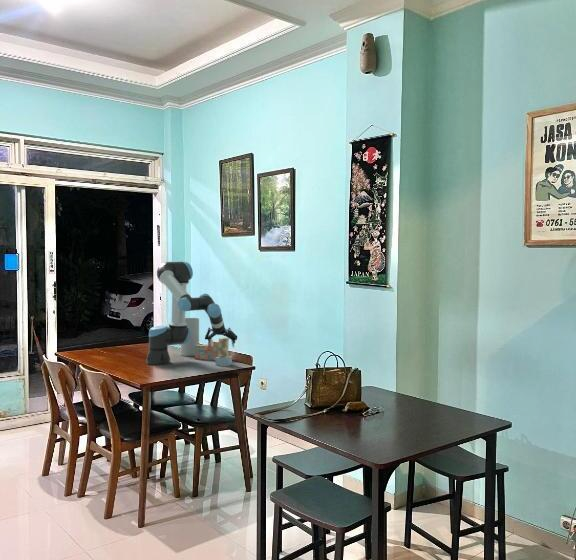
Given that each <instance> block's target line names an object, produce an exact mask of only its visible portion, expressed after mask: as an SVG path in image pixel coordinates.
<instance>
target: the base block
mask: <svg viewBox="0 0 576 560" xmlns="http://www.w3.org/2000/svg"><path fill="white" fill-rule="evenodd" d="M232 364H233V356H232V355H231V356H229V355H228V357H227V358H219V357H216V360H215V366H216V365H219V367H229V366H230V365H232Z"/></svg>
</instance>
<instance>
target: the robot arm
mask: <svg viewBox="0 0 576 560" xmlns="http://www.w3.org/2000/svg"><path fill="white" fill-rule="evenodd" d="M193 271H194V270H193V267H192V265H191V264H190V263H189V262H188V261H164V262H163V263H161V264H160V265H159V266H158V268H157V269H156V276H157V279H158V281H159V282H160V283H161V284H163V285H164V286H165V287H166V288H167V289H168V290H169V291H170V293H171V294H172V296H171V297H172V298H171V300H172V301H171V321H170V322H169V323H168V325H165V324H164V325H155V326H152V327H150V329H149V330H148V353H147V357H146V359H145V362H146V365H152V366H154V365H155V366H156V365H157V366H161V365H169V364H170V363H171V356H170V354H169V351H168V349H169V348H168V347H169V346H177V345H180V346H181V344H185V343H187V342H188V341H189V338H190V328H189V327H188V326H187V324H186V322H185V318H186V312H190V311H192V312H193V311H204V312H205V313H206V315H207V316H208V317H209V322H210V325H211V328H210V327H208V329H207V332H206V334H205V335H204V340H205V341H206V340H207V341H208V342H209V343H210V344H211V347H213V341H214V340H213V338H214V337H215V336H222V337H223V336H224V337H225V338H229V339H230V341H231V346H232V348H235V344H236V341H237V340H238V335H237V334H235V332H233V330H232V329H231V327H228V328H226V327H225V322H224V318H223V314H222V309H221V307H220V305H219V304H218V303H215V301H214V300H213V297H212V296H210V294H208V293H203V294H200V295H199V296H198V297H192V296H191V295H190V294H189V292H188V291H187V285H188V284H189V283H190V280H191V279H192V278H193V275H194V272H193Z"/></svg>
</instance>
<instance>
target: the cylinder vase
mask: <svg viewBox="0 0 576 560" xmlns="http://www.w3.org/2000/svg"><path fill="white" fill-rule="evenodd" d="M185 322H186V324H187V326H188V327H189V328H190V338H189V341H188V342H187V343H185V344H181V345H180V355H181V356H184V357H195V346H196V345H198V344H200V318H198V317H185Z"/></svg>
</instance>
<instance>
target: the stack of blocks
mask: <svg viewBox="0 0 576 560" xmlns="http://www.w3.org/2000/svg"><path fill="white" fill-rule="evenodd" d="M216 357H219V340H213V347H211V344H210V343H209V341H208V342H207V344H204V343H203V344H202V343H201V344H200V343H199V344H198V345H196V346H195V356H194V359H195V360H202V359H204V361H205V359H206V361H216Z"/></svg>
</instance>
